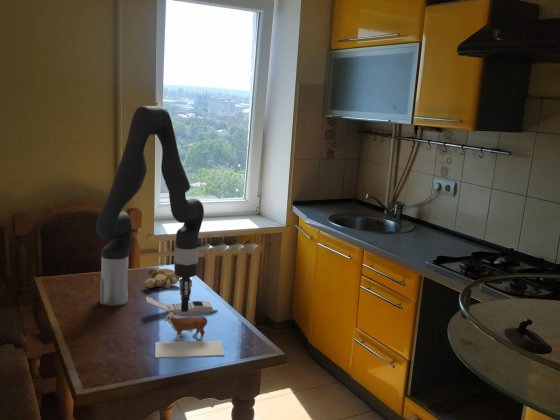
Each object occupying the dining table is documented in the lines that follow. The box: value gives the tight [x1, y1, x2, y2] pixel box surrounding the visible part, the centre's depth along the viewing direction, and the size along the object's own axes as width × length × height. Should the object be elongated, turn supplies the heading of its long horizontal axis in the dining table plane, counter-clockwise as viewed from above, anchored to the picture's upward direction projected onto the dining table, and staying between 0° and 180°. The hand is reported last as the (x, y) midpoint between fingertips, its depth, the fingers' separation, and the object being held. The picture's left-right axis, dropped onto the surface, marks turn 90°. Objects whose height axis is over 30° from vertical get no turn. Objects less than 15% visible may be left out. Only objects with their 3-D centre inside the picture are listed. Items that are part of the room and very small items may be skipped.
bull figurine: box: [163, 313, 208, 342], centre depth 168 cm, size 4×13×8 cm, turn 95°
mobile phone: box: [145, 295, 219, 316], centre depth 190 cm, size 6×6×25 cm
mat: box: [154, 339, 225, 359], centre depth 162 cm, size 20×10×1 cm, turn 102°
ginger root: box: [142, 267, 182, 289], centre depth 217 cm, size 16×16×8 cm
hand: (184, 310), depth 177 cm, fingers closed
